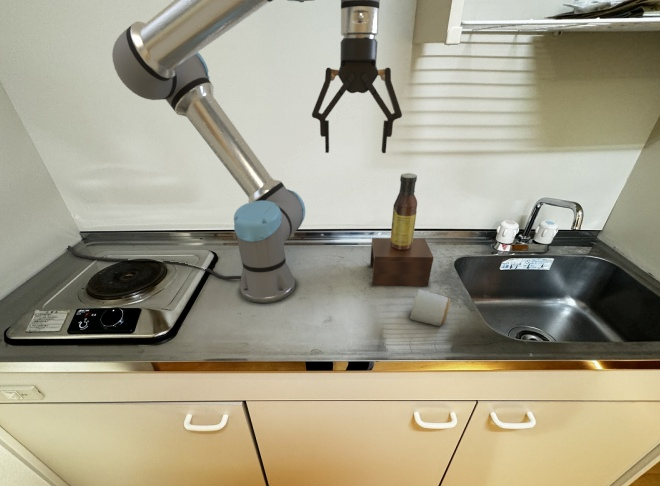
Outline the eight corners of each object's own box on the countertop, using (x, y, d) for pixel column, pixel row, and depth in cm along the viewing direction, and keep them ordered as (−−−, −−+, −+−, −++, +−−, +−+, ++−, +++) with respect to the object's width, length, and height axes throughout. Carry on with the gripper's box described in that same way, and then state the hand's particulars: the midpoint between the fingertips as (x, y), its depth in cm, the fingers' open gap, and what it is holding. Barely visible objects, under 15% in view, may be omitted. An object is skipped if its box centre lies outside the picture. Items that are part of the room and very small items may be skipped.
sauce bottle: (396, 239, 95) (405, 170, 83) (415, 245, 91) (426, 173, 80) (385, 247, 90) (392, 175, 79) (404, 253, 87) (414, 179, 76)
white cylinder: (442, 333, 75) (449, 307, 70) (408, 325, 77) (413, 299, 73) (447, 308, 83) (454, 283, 78) (416, 301, 85) (420, 277, 81)
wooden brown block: (372, 285, 92) (374, 256, 86) (370, 265, 101) (371, 237, 96) (427, 286, 91) (433, 257, 86) (420, 265, 101) (424, 238, 95)
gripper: (295, 36, 61) (302, 154, 74) (424, 36, 60) (409, 155, 73) (299, 39, 67) (305, 148, 80) (417, 39, 67) (404, 149, 79)
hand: (355, 152), depth 76 cm, fingers open, 13 cm apart
